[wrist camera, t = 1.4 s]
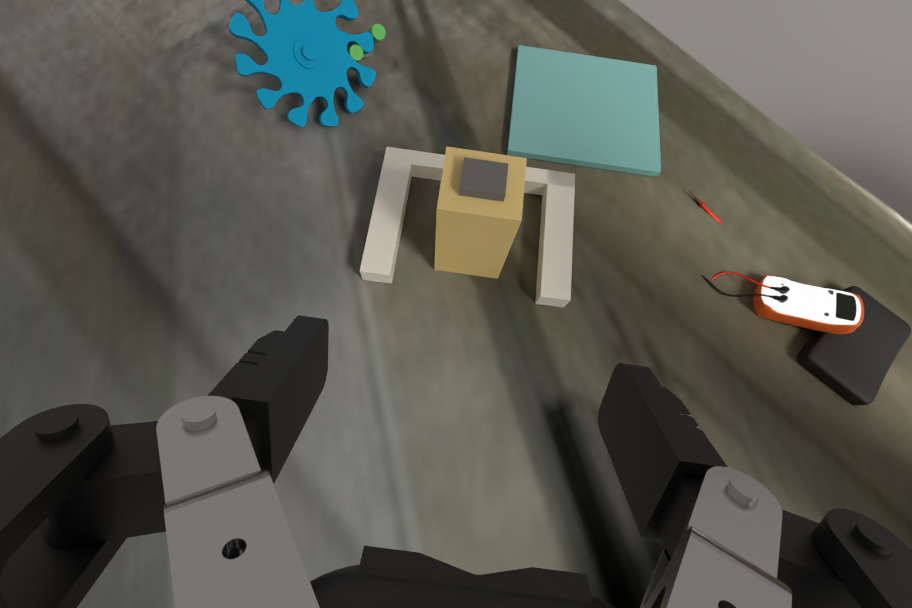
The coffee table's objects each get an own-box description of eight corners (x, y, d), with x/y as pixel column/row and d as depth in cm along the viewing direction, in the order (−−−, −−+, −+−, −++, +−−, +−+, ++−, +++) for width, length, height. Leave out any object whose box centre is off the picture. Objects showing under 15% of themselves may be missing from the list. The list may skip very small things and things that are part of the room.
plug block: (502, 228, 31) (529, 151, 23) (497, 278, 30) (524, 215, 22) (442, 219, 31) (447, 139, 23) (434, 269, 30) (437, 202, 22)
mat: (652, 71, 37) (656, 65, 37) (656, 177, 33) (660, 172, 33) (517, 51, 37) (518, 45, 36) (506, 155, 33) (508, 150, 33)
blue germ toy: (266, 143, 30) (200, -29, 26) (260, 141, 35) (203, -3, 31) (406, 109, 34) (370, -47, 29) (383, 112, 39) (349, -21, 34)
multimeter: (608, 265, 31) (629, 244, 28) (703, 176, 34) (732, 148, 31) (810, 457, 28) (861, 458, 25) (896, 339, 31) (951, 327, 28)
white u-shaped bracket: (568, 185, 33) (575, 173, 31) (563, 307, 29) (570, 300, 28) (388, 159, 32) (386, 146, 31) (363, 279, 29) (359, 271, 28)
